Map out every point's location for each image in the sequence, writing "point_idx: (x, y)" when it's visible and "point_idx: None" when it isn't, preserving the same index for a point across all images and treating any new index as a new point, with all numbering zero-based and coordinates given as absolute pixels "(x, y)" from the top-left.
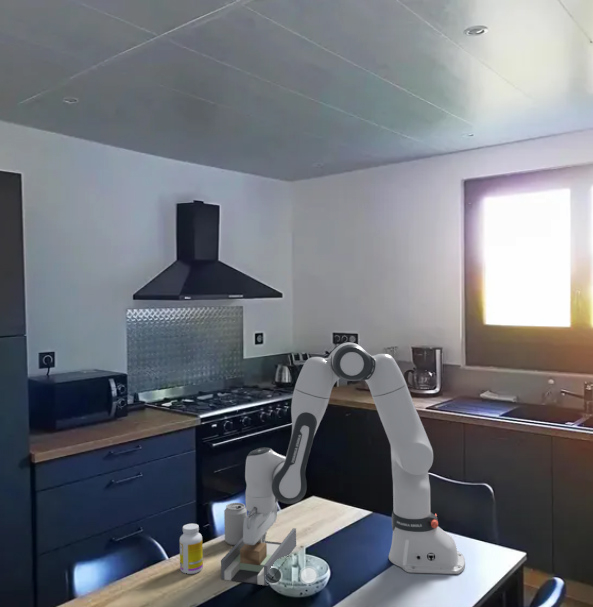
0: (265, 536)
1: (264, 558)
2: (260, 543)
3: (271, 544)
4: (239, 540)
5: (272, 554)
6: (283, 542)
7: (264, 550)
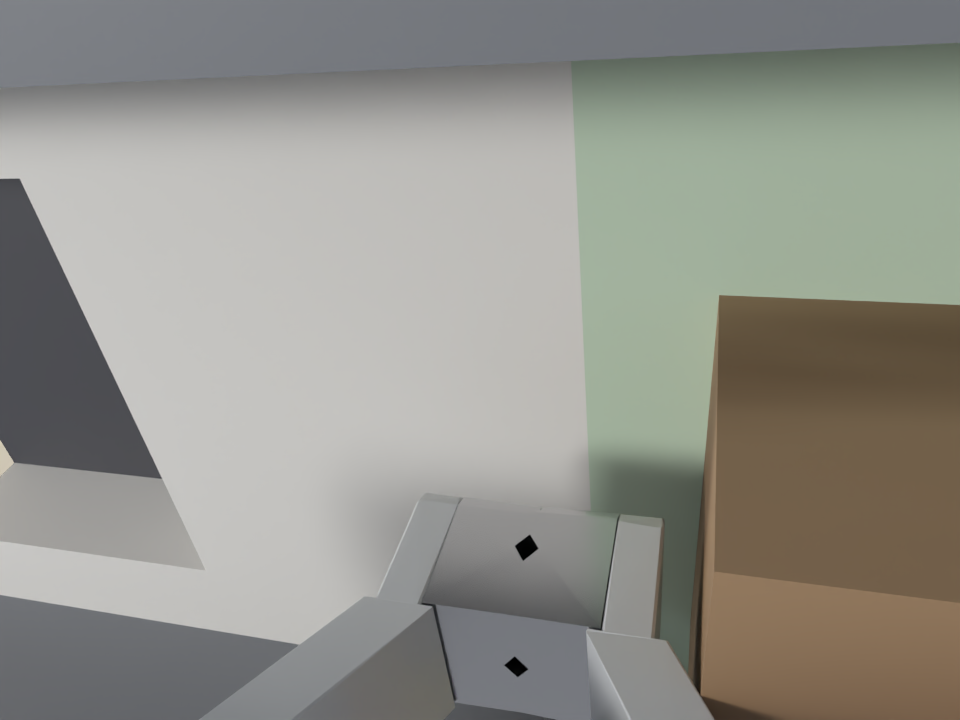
0: (310, 680)
1: (906, 315)
2: (774, 714)
3: (131, 360)
4: None
5: (549, 200)
6: (128, 10)
7: (938, 466)
